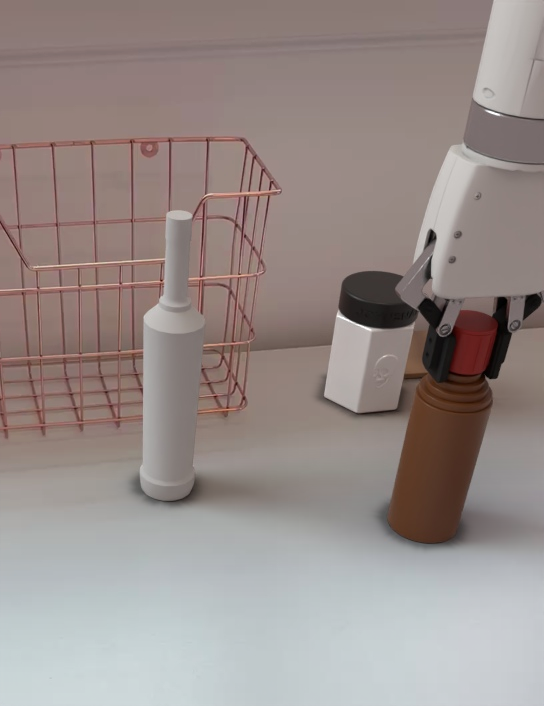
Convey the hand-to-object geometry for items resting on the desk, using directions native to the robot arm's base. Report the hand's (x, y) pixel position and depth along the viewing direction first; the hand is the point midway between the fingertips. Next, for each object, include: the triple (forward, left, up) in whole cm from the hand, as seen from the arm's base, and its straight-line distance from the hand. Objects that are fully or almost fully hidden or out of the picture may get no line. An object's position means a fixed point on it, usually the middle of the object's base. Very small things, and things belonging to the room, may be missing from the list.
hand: (460, 371), depth 84 cm
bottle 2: (0, 0, -15) cm, 15 cm away
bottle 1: (+22, -9, -15) cm, 28 cm away
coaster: (-13, -31, -15) cm, 37 cm away
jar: (-3, -23, -15) cm, 28 cm away
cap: (0, 0, +1) cm, 1 cm away
